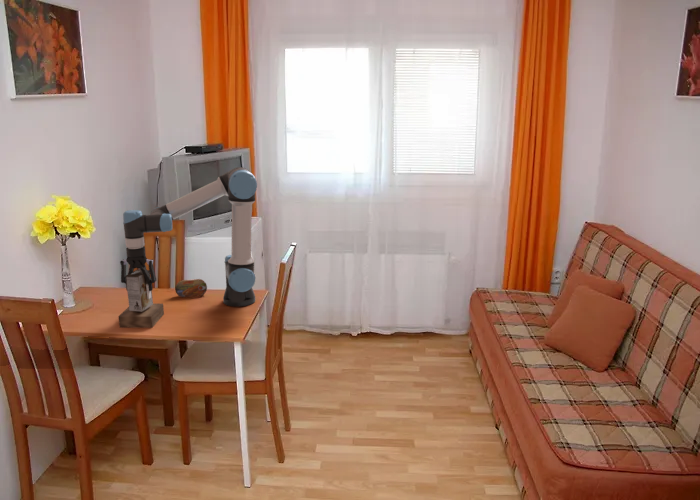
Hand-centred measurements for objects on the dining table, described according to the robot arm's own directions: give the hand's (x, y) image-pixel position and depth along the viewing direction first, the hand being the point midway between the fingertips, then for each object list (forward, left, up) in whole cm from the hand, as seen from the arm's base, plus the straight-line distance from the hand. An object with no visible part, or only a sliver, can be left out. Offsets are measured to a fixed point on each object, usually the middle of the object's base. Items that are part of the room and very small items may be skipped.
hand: (140, 297), depth 256 cm
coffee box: (0, 0, -5) cm, 5 cm away
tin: (-13, -33, -11) cm, 37 cm away
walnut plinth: (0, 0, -10) cm, 10 cm away
